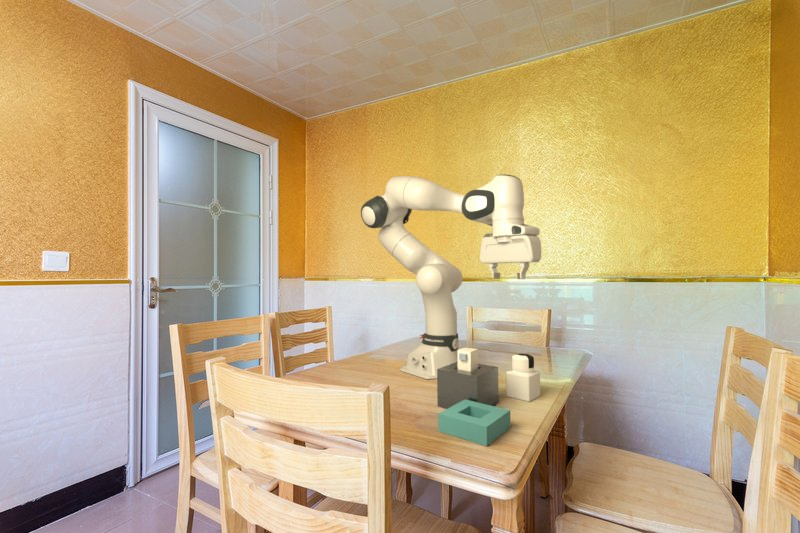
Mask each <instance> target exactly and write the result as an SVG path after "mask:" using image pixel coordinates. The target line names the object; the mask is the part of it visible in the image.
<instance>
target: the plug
mask: <svg viewBox="0 0 800 533" xmlns="http://www.w3.org/2000/svg"><path fill="white" fill-rule="evenodd" d="M478 352H479V350H478V348H470V347H463V348H458V350H457V353H458V369H459V370H464V371H470V372H473V371H475V370H478V364H479V353H478Z"/></svg>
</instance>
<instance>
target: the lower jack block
mask: <svg viewBox="0 0 800 533" xmlns="http://www.w3.org/2000/svg"><path fill="white" fill-rule="evenodd" d="M437 418H438V420H437V422H438V432H439V433H443V434H445V435H450V436H453V437H456V438H459V439H463V440H466V441H469V442H472V443H475V444H478V445H481V446H484V447H488V446H489V445H490V444H492V443H493V442H495V440H497V439H498V438H499V437H500V436H502V435H503V434H504V433H506V432H507V431H508V430H510V429H511V410H510V409H507V408H503V407H498V406H490V405H486V404H482V403H478V402H474V401H469V400H463V401H461V402H459V403H457V404H455V405H453V406H452V407H450V408H448V409H446V408H445V410H443V411H441V412H438V414H437Z"/></svg>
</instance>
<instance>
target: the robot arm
mask: <svg viewBox="0 0 800 533" xmlns="http://www.w3.org/2000/svg"><path fill="white" fill-rule="evenodd" d="M524 192H525V191H524V186H523V182H522V180H521V179H520V178H519V177H517V176H515V175H511V174H497V175H495V176H494V177H493V178H492V179H491V180H490V181H489V182H487V183H486V184H484V185H482V186H480V187H477V189H476V188H475V189H471V190H470V191H468V192H467V193H466V194H463V193H458V192H456V191H453V190H450V189H449V188H446V187H444V186H442V185H440V184H438V183H437V182H434V181H431V180H429V179H428V178H427V179H426V178H423V177H420V176H411V175H396V176H394V177H391V178H389V179H388V181H387V183H386V185H385V192H384V194H383V195H376V196H374V197H372V198H370V199H369V200H368V201H366V202H364V204H363V205H362V206H361V208H360V217H361V220H362V222H363V223H364V225H365V226H366V227H367V228H370V229H379V231H378V235H377V236H378V241H379V242H380V244H381V245H382V246H383V248H384V249H385V250H386V251H387V252H388V253H389V254H390V255H391V256H392V257H393V258H394V259H395V260H396V261H397V262H398V263H399V264H400V265H402V266H403V267H404V268H405V269H406V270H407V271H409V272H411V273H413V274H415V276H416V277H415V283H416V285H417V286H416V287H417V288H418V290H420V293H421V297H422V301H423V306H424V312H425V314H424V315H425V332H424V333H423V334H420V335H419V339H422V340H421V343H420V344H418V345H417V346H416V347H415V348H414V349H412V350H411V351H410V352H409V353H408V355H407V357H406V364H404V365H402V366H401V367H400V371H401V372H404V373H406V374H408V375H412V376H415V377H419V378H422V379H425V380H433V379H434V380H435V379H437V369H439V368H442V367H444V366H447V365H450V364H452V363H455V362H458V353H457V350H459V333H458V318H457V317H458V316H457V315H458V312H457V309H456V307H455V305H454V300H453V296H452V293H454V292H456V291H457V290H458V289H459V288H460V287H461V286H462V284H463V280H464V278H463V274H462V271H461V270H460V269H459V268H458V267H457V266H455V265H453V264H452V263H451V262H450V261H448V260H447V259H445V258H444V257H442V256H441V255H440V254H438V253H437V252H435V251H434V250H433V249H431V248H429V247H428V246H427V245H425V244H424V243H423V242H422V241H420V239H418V238H417V237H416V236H415V235H413V234H412V233H411V232H410V231H409V230H408V229H406V228H405V224H407V223H408V222H409V220H410V219H409V218H410V216H411V213H412V211H413V210H414V211H422V212H423V211H425V212H427V211H430V212H432V211H433V212H434V211H437V212H438V211H440V212H455V213H459V214H463V216H464V217H465V218H466V219H467V220H469V221H471V222H476V223H480V224H485V225H487V226H490V227H492V228H491V229H492V233H491V232H490V233H489V232H487V233H486V234H484V236H483V237H482V239H481V245H480V253H479V260H480V262H481V264H488V265H489V269H490V272H491V276H492V279H495V280H498V279H501V272H499V271H498V267H499V266H498V264H516V263H517V264H518V263H519V267H521V268H520V271H519V272H516V276H517V277H516V278H517V280H526V278H527V277H526V276H527V275H526V274H527V272H528V270H529V268H530V263H539V262H540V261H541V258H542V242H541V239H540V237H539V235H540V233H541V232H540V228H539V227H537V226H534V225H533V226H532V225H529V224H525V217H524V213H523V210H524V207H525V196H524Z"/></svg>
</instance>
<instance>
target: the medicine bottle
mask: <svg viewBox="0 0 800 533" xmlns="http://www.w3.org/2000/svg"><path fill="white" fill-rule="evenodd" d="M511 368H512V369H510V370H507V371H506V372H505V383H506V384H505V388H506V391H505V392H506V393H505V394H506V397H508V398H512V399H517V400H520V401H524V402H531V401H533V400H535V399H537V398H540V397H541V372H540V371H538V370H535V358H534V356H533V355H531V354H528V353H515V354H513V355H512V356H511Z"/></svg>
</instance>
